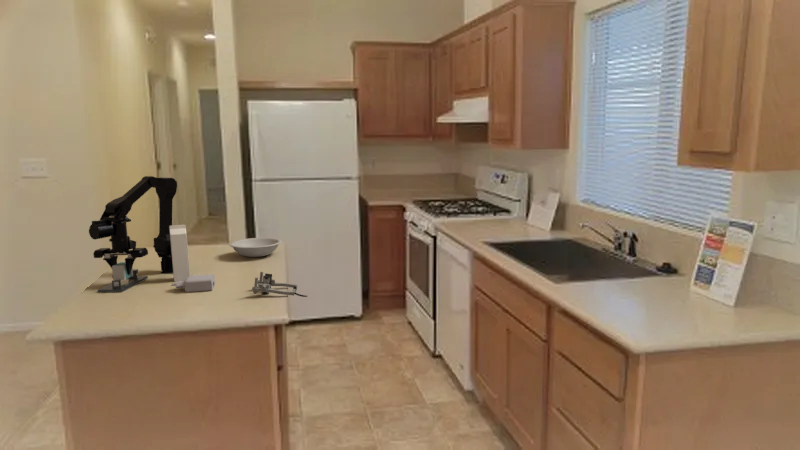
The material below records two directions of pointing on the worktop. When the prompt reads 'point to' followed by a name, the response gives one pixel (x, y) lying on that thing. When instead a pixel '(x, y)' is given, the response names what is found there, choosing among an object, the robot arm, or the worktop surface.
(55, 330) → the worktop surface
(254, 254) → the soup bowl
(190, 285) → the charger
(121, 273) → the block
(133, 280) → the shaft stand
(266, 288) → the bike brake
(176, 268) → the milk
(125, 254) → the robot arm
